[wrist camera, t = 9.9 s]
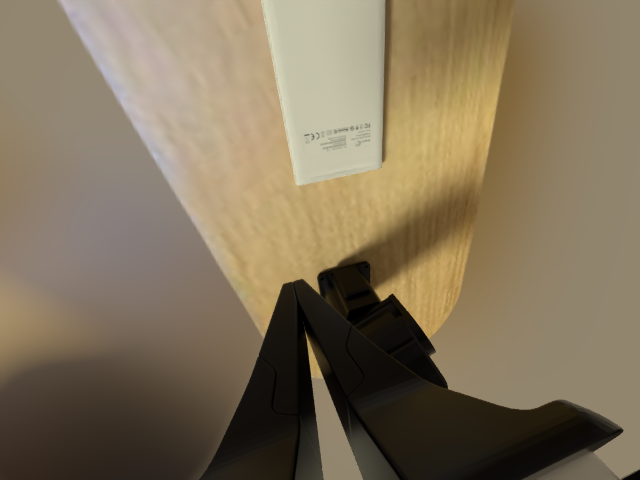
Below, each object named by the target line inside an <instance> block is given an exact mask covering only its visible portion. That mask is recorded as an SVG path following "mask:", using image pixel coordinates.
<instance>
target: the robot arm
mask: <svg viewBox="0 0 640 480" xmlns="http://www.w3.org/2000/svg"><path fill="white" fill-rule="evenodd" d="M365 265H366V266H365ZM322 277H323V278H322ZM321 278H322V279H321ZM317 279H318V285H319V291H320V295H319V294H318V293H317V292H316V291H315V290H314V289H313V288H312V287H311V286H310V285H309V284H308V283H307V282H305V281H304V280H303V279H300V280H296V281H294V282H289V283H285V284H283V286H282V289H281V291H280V294H279V297H278V300H277V303H276V306H275V309H274V312H273V315H272V318H271V321H270V323H269V326H268V329H267V332H266V335H265V338H264V341H263V344H262V347H261V350H260V353H259V357H258V358H257V361H256V364H255V367H254V370H253V372H252V375H251V378H250V380H249V383H248V385H247V387H246V390H245V392H244V394H243V396H242V399H241V401H240V403H239V405H238V407H237V409H236V412H235V414H234V416H233V418H232V420H231V422H230V425H229V426H228V429H227V431H226V433H225V435H224V437H223V439H222V442H221V444H220V446H219V448H218V450H217V452H216V454H215V456H214V457H213V459H212V461H211V463H210V464H209V466H208V468H207V470H206V471H205V472H204V474H203V475H202V476H201V478H200V479H199V480H324V479H323V472H322V463H321V455H320V446H319V439H318V430H317V422H316V413H315V405H314V397H313V388H312V380H311V372H310V364H309V355H308V347H307V339H306V334H307V337H308V340H309V342H310V345H311V347H312V350H313V352H314V355H315V357H316V360H317V362H318V365H319V368H320V370H321V373H322V375H323V378H324V380H325V383H326V385H327V388H328V390H329V393H330V395H331V398H332V401H333V403H334V406H335V408H336V411H337V413H338V416H339V419H340V421H341V424H342V426H343V429H344V431H345V434H346V436H347V439H348V441H349V444H350V447H351V449H352V452H353V454H354V456H355V459H356V462H357V465H358V467H359V470H360V472H361V475H362V477H363V480H640V469H638V470H636V471H634V472H632V473H631V474H629V475H627V476H625V477H623V478H621V479H619V478H618V477H617V476H616V475H615V474H614V473H613V472H612V471H611V470H610V469H609V468H608V467H607V466H606V465H605V464H604V463H603V462H602V461H601V460H600V459H599V458H598V457H597V456H596V455H595V454H594V453H593V452H594V451H595V450H597V449H598V448H600V447H602V446H603V445H605V444H606V443H608V442H609V441H611V440H613V439H614V438H616V437H617V436H619V435H620V434H621V433H622V432H623V429H622V428H621V427H620V426H618V425H617V424H615V423H613V422H612V421H610V420H609V419H607V418H605V417H603V416H601V415H600V414H597V413H595V412H593V411H591V410H589V409H586V408H584V407H581V406H579V405H576V404H574V403H571V402H569V401H566V400H556V401H552V402H550V403H547V404H545V405H543V406H540V407H538V408H535V409H531V410H519V409H511V408H507V407H503V406H499V405H496V404H493V403H490V402H487V401H483V400H481V399H477V398H474V397H471V396H468V395H465V394H461V393H458V392H455V391H452V390H449V389H448V386H447V382H446V380H445V379H444V377H443V376H442V374H441V373H440V371H439V370H438V368H437V367H436V365H435V364H434V362H433V361H432V359H431V358H430V355H432V354H434V353H435V352H436V351H435V349H434V347H433V345H432V344H431V342H430V341H429V339H428V338H427V336H426V335H425V333H424V332H423V331H422V329H421V328H420V326H419V325H418V324H417V322H416V321H415V320H414V319H413V317H412V316H411V315H410V314H409V312H408V311H407V310H406V309H405V308H404V306H403V305H402V304H401V303H400V302H399V300H398V299H397V298H396V297H395V296H394V295H393V294H391V295H390V296H388V298H387V299H385V300H383V301H381V300H380V298H379V297H378V295H377V294H376V292H375V291H374V289H373V288H372V286H371V285H370V264H369V263H368V262H366V261H365V262H361V263H358V264H354V265H350V266H347V267H343V268H340V269H336V270H332V271H329V272H325V273H322V274H319V275H318V277H317ZM303 323H304V324H303ZM304 327H305V328H304ZM305 331H306V332H305Z"/></svg>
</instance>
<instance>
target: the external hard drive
mask: <svg viewBox="0 0 640 480" xmlns="http://www.w3.org/2000/svg"><path fill="white" fill-rule="evenodd" d="M385 2H386V0H261V4H262V9H263V14H264V20H265V25H266V30H267V35H268V40H269V46H270V51H271V56H272V61H273V67H274V72H275V77H276V83H277V88H278V93H279V98H280V104H281V109H282V114H283V120H284V125H285V130H286V136H287V141H288V146H289V151H290V156H291V162H292V167H293V172H294V178H295V183H296V184H297V185H298V186H299V185H305V184H310V183H315V182H319V181H324V180H328V179H333V178H338V177H343V176H348V175H352V174H357V173H362V172H367V171H371V170H377V169H380V168H382V135H383V95H384V52H385Z"/></svg>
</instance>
